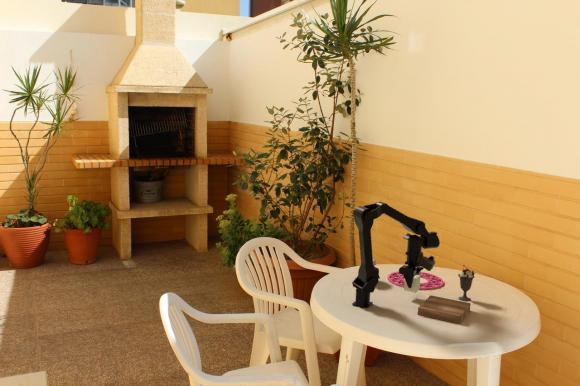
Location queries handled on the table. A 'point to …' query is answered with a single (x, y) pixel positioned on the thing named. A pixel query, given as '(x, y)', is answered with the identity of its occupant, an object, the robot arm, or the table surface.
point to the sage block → (413, 284)
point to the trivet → (426, 285)
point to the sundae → (466, 282)
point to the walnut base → (444, 309)
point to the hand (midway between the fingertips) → (411, 286)
